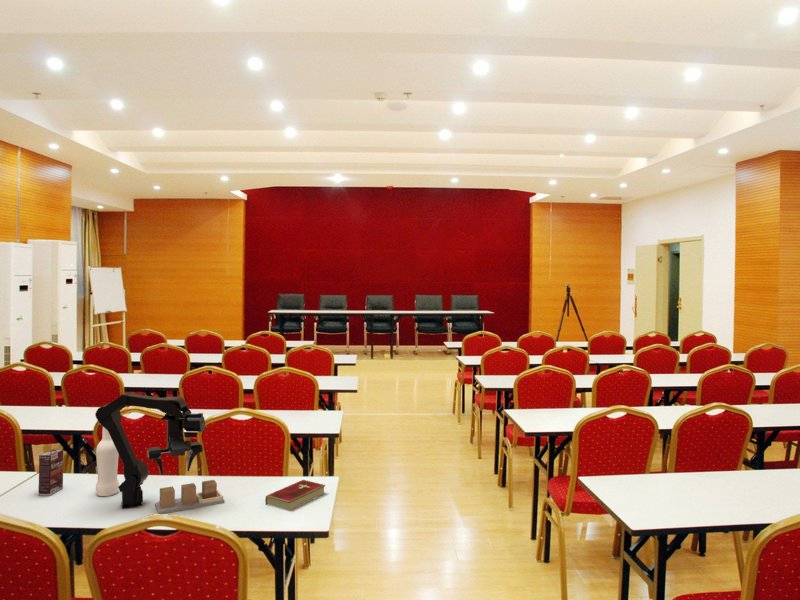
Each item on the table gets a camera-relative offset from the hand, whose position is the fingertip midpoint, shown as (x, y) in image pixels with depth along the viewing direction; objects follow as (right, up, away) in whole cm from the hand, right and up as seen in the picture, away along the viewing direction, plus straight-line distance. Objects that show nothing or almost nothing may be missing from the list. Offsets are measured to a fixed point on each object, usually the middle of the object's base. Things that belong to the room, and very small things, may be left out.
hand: (175, 472), depth 208 cm
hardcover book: (+44, -13, +8) cm, 46 cm away
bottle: (-31, -12, +11) cm, 35 cm away
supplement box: (-53, -11, +11) cm, 56 cm away
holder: (+5, -12, +1) cm, 13 cm away
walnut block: (+11, -11, +5) cm, 16 cm away
